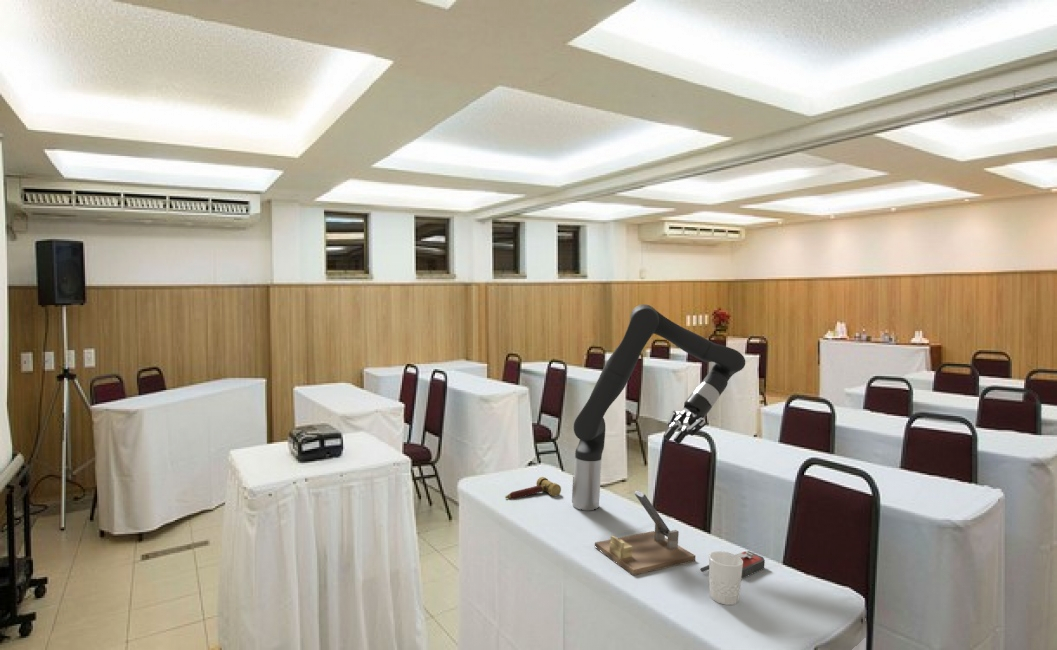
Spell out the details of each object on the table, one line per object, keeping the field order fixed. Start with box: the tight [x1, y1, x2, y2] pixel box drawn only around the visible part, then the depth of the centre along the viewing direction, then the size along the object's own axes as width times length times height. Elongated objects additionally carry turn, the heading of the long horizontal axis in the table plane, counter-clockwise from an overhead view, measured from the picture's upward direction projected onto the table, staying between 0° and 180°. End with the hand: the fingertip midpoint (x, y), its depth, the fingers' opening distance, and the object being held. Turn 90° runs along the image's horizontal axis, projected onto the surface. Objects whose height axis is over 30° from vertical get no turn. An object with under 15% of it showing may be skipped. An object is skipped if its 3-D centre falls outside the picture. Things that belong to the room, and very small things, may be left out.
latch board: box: [594, 523, 696, 576], centre depth 162 cm, size 18×22×6 cm
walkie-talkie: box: [699, 550, 766, 579], centre depth 154 cm, size 9×4×20 cm
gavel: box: [505, 476, 562, 500], centre depth 207 cm, size 21×5×10 cm
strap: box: [633, 489, 671, 538], centre depth 163 cm, size 4×18×2 cm
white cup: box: [708, 551, 743, 606], centre depth 139 cm, size 8×8×10 cm
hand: (670, 440), depth 174 cm, fingers open, 4 cm apart
